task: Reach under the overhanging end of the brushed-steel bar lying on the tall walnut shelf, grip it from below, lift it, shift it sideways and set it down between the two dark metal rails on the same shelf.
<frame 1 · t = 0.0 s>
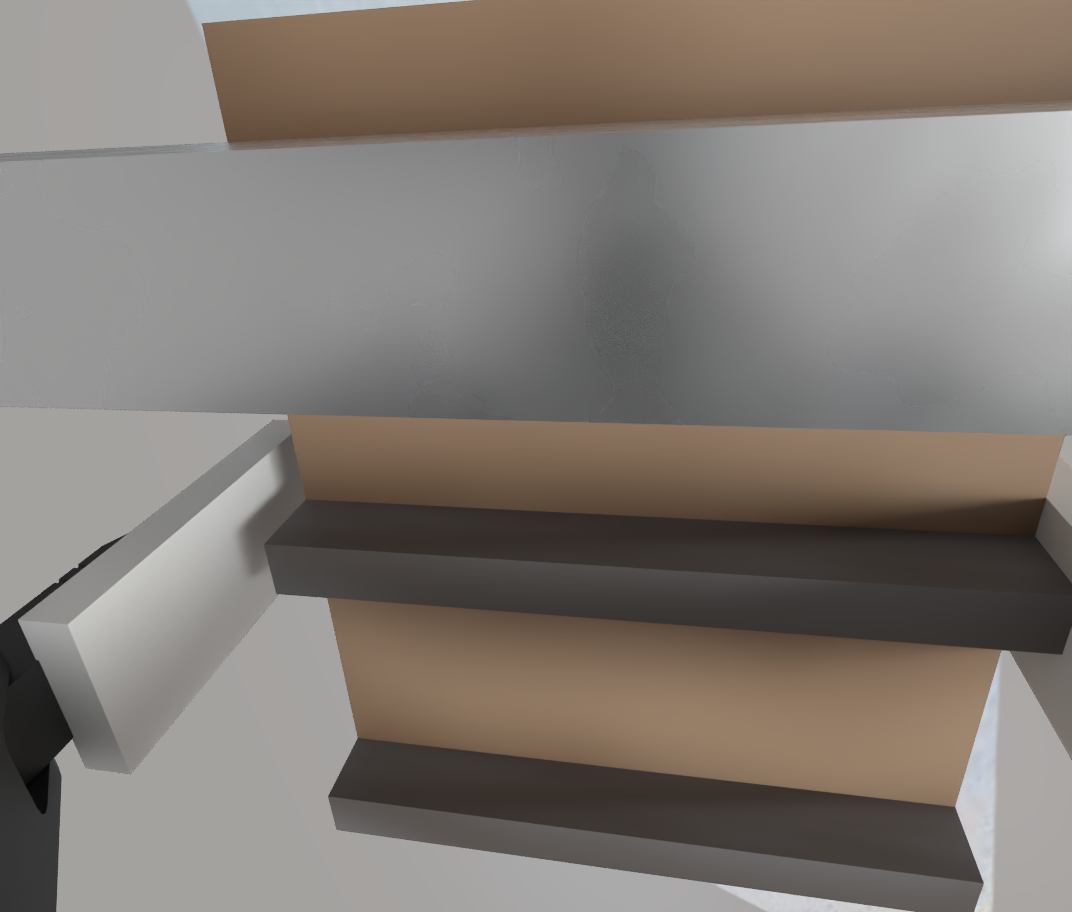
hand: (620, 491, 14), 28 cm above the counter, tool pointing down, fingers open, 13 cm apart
walnut shelf: (670, 236, 39), on the counter
steel bar: (435, 243, 11), point 30 cm above the counter, touching walnut shelf
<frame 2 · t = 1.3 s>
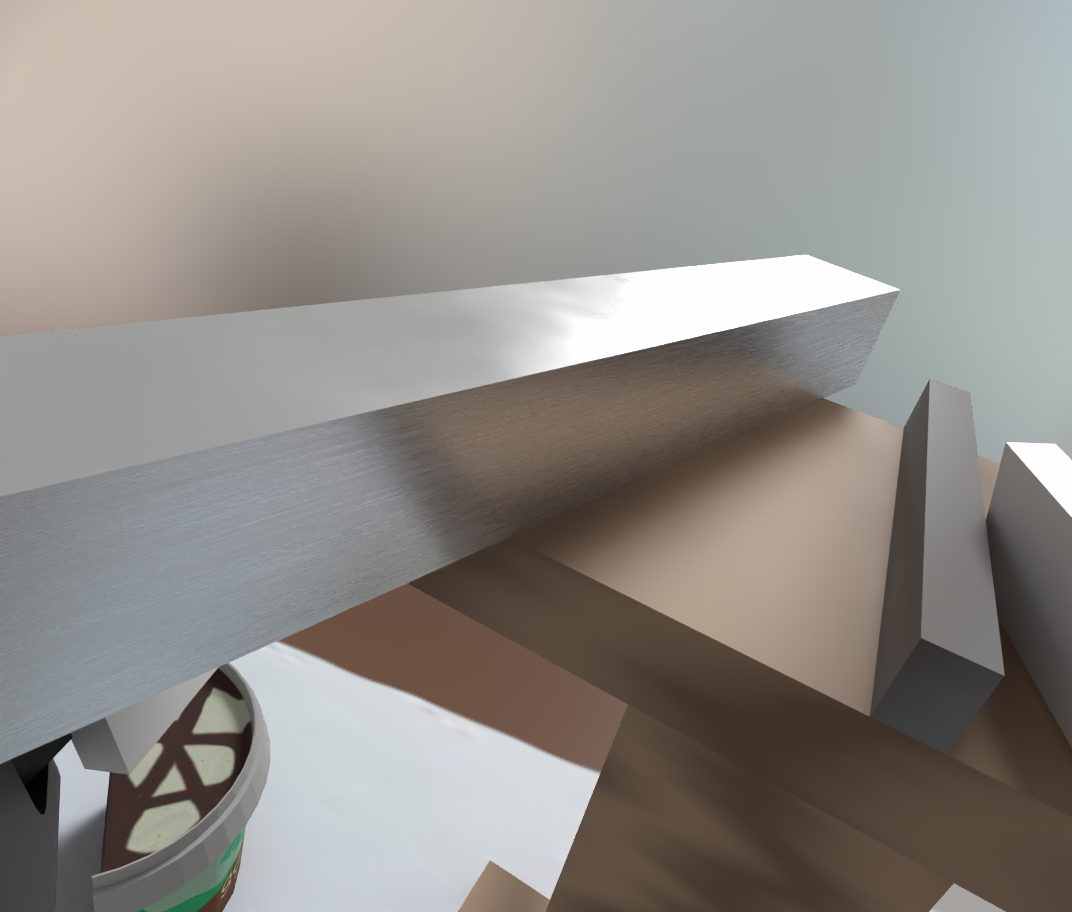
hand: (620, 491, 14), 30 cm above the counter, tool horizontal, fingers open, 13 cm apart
steel bar: (563, 451, 15), point 30 cm above the counter, touching walnut shelf
food container: (197, 865, 35), on the counter
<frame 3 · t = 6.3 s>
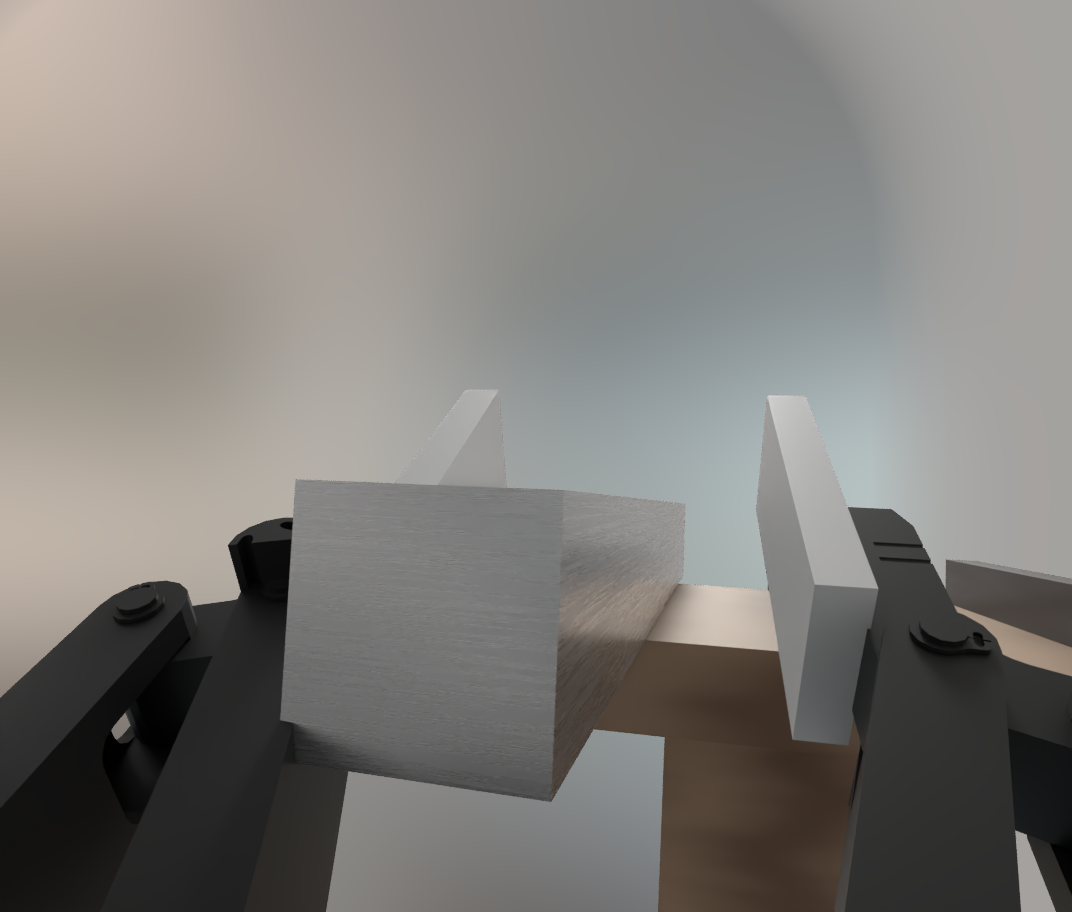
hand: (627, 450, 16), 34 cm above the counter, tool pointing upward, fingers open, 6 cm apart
steel bar: (600, 613, 19), point 30 cm above the counter, touching gripper
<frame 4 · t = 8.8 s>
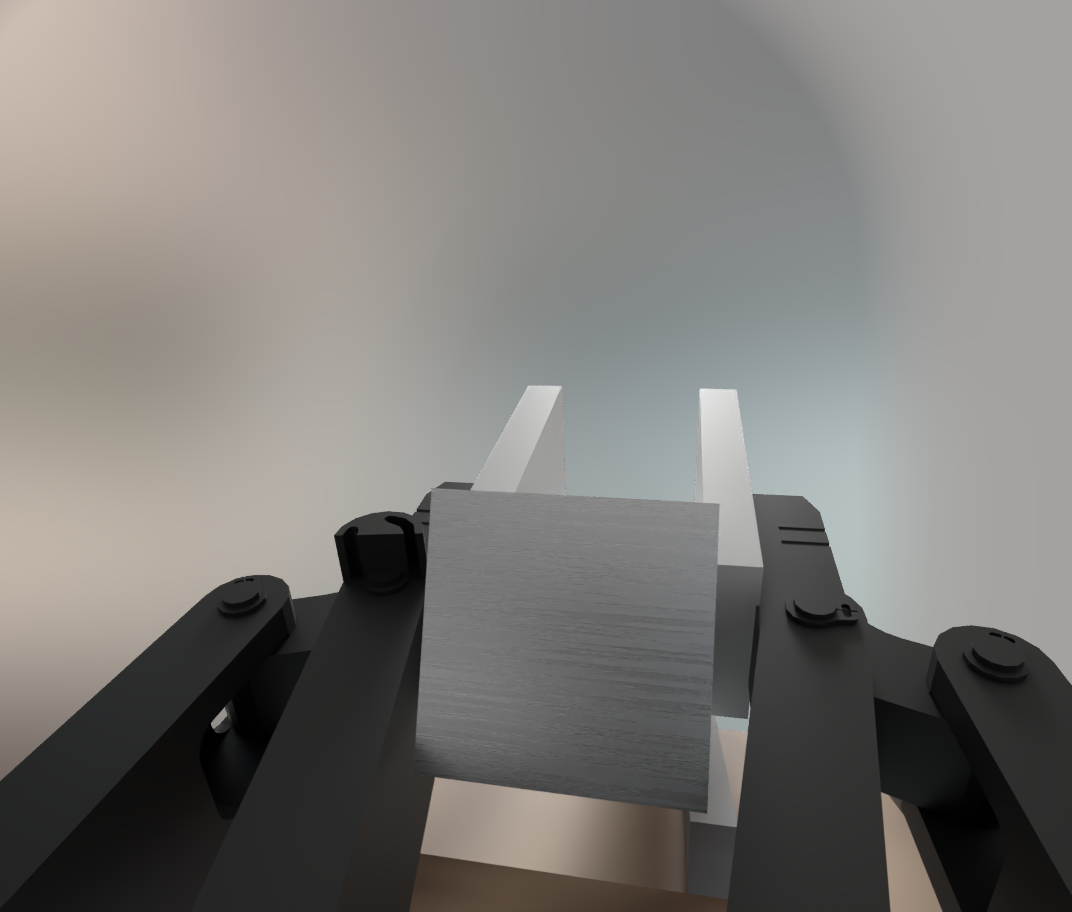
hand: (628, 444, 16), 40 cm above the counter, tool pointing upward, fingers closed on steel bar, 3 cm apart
steel bar: (628, 616, 19), point 35 cm above the counter, touching gripper
when the fingers open (35 cm above the counter, at t = 11.2 s): steel bar stays where it is, resting on walnut shelf.
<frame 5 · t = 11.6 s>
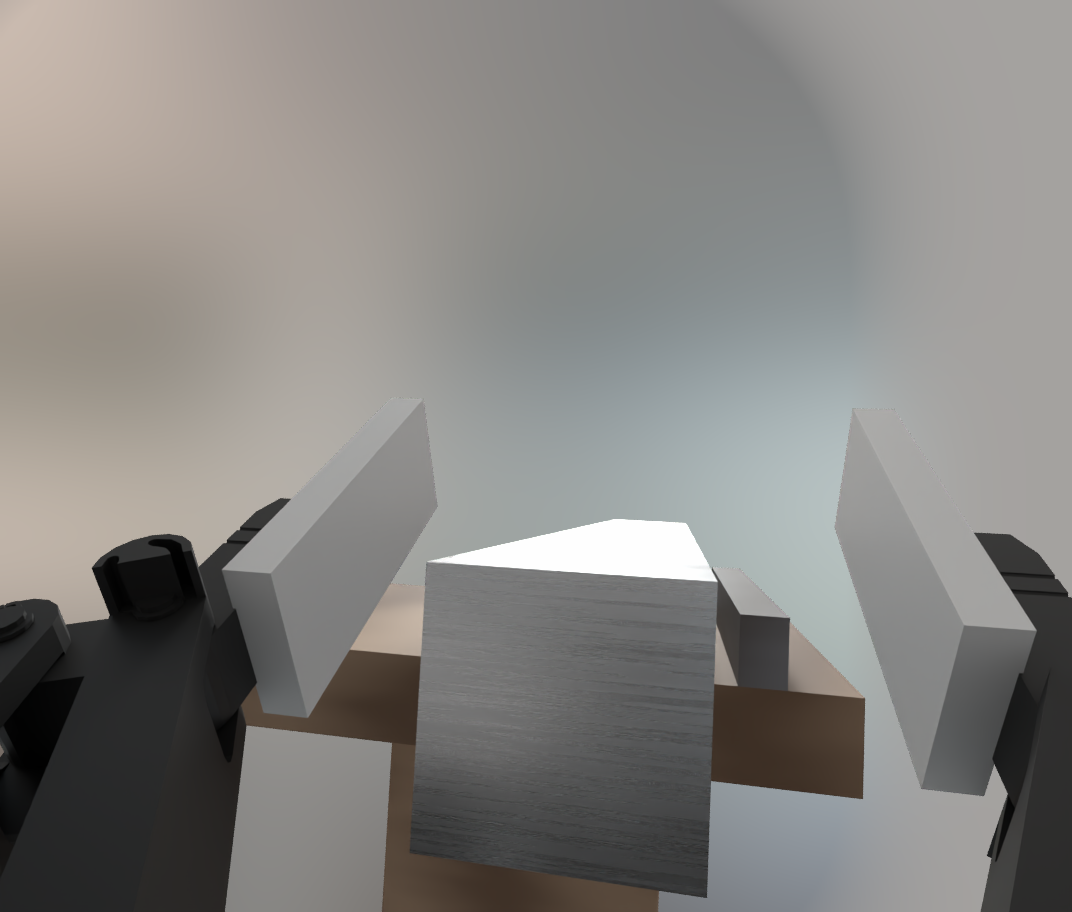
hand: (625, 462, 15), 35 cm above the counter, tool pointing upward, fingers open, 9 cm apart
steel bar: (629, 645, 19), point 30 cm above the counter, touching walnut shelf
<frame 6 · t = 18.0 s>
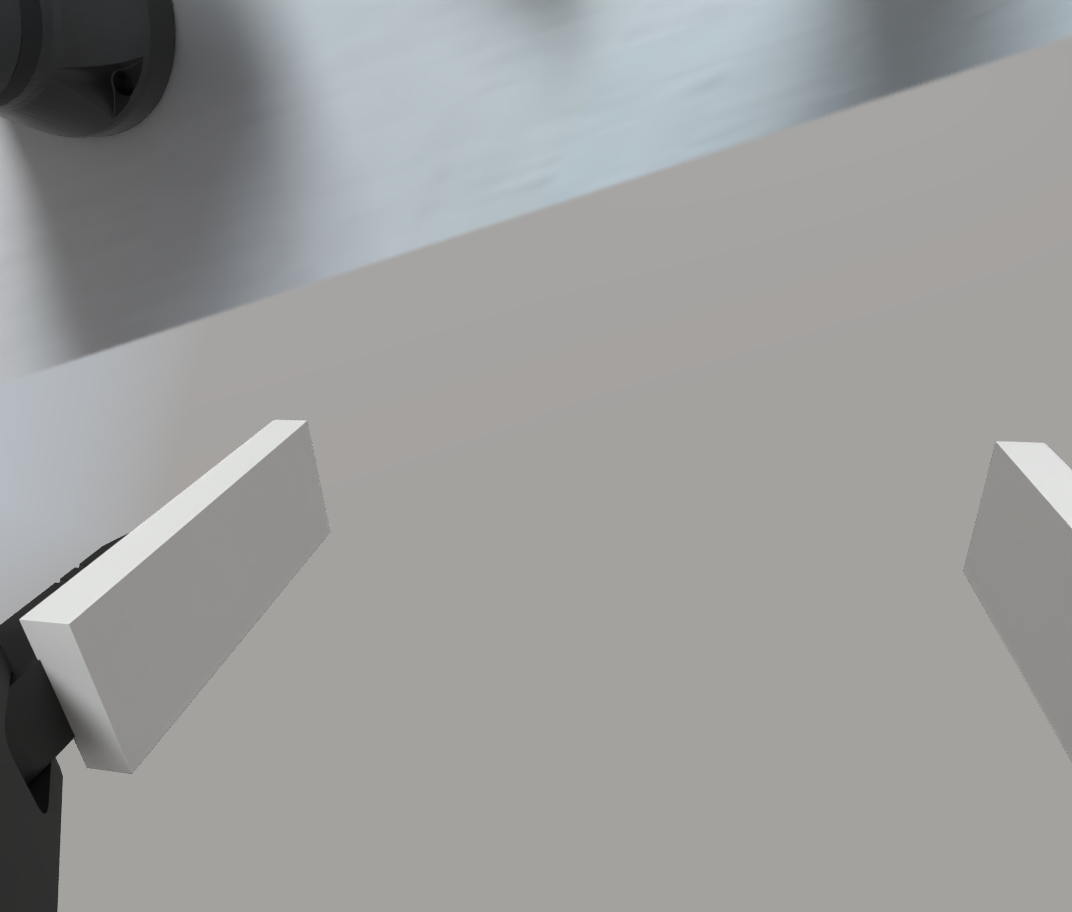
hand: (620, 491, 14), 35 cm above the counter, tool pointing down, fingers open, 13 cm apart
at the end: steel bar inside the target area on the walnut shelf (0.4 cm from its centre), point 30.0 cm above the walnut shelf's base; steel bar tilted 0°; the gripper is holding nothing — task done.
